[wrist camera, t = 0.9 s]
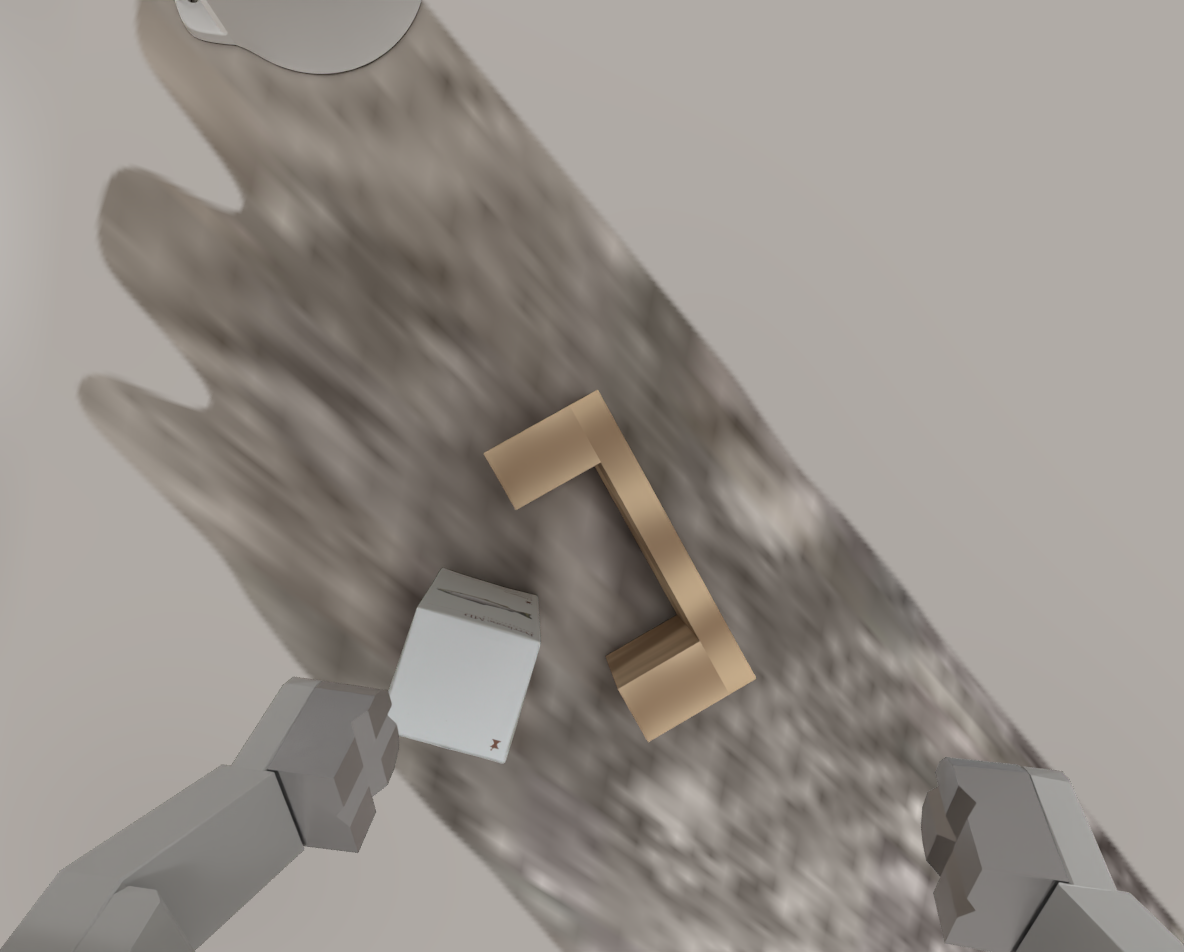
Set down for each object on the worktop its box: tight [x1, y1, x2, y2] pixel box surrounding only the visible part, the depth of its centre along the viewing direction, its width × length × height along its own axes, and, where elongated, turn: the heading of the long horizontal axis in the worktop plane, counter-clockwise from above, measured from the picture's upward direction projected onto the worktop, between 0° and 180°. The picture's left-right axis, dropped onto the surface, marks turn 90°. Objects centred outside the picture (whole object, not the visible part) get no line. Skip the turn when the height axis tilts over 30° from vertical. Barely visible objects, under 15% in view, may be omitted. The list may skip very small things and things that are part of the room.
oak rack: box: [483, 390, 756, 742], centre depth 50 cm, size 21×8×7 cm, turn 29°
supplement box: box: [388, 568, 541, 764], centre depth 47 cm, size 7×7×13 cm
